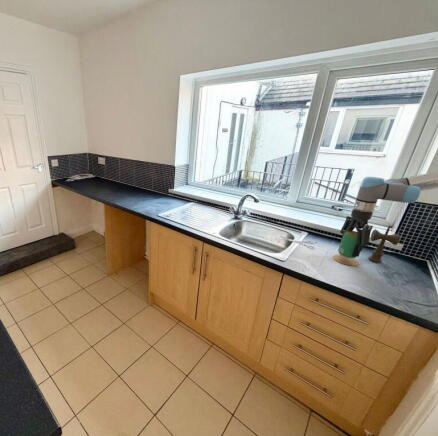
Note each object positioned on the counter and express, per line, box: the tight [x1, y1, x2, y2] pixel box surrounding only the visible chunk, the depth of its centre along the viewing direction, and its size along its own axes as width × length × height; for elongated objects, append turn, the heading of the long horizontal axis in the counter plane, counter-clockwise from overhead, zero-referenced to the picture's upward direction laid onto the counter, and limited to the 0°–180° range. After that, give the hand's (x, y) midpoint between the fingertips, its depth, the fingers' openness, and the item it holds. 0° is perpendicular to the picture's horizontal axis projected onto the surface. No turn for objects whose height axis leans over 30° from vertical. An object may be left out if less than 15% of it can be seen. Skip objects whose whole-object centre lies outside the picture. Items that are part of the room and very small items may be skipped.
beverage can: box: [337, 230, 358, 259], centre depth 122 cm, size 8×8×12 cm
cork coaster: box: [332, 254, 360, 267], centre depth 125 cm, size 11×11×1 cm
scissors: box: [279, 235, 318, 250], centre depth 144 cm, size 11×1×20 cm
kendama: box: [368, 225, 401, 264], centre depth 121 cm, size 6×10×20 cm, turn 58°
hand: (348, 251), depth 124 cm, fingers closed on beverage can, 8 cm apart
